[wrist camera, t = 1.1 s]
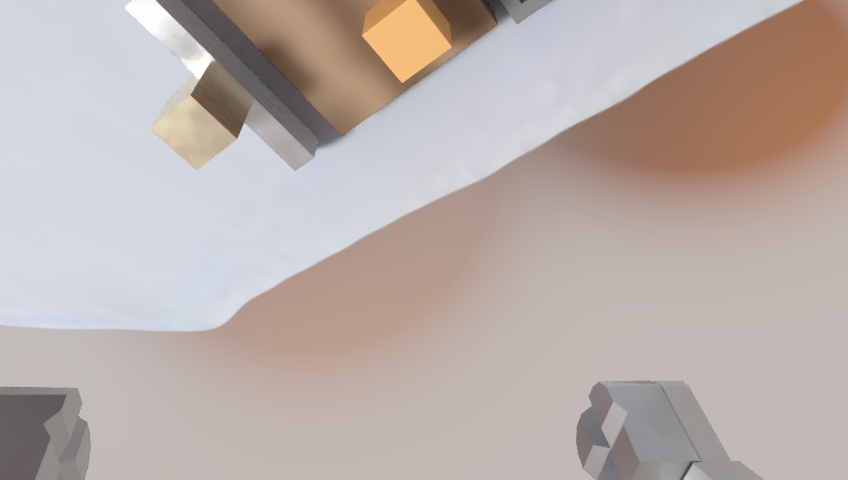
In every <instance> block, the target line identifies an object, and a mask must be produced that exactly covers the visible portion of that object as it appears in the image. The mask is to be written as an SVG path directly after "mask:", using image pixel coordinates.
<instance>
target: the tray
mask: <svg viewBox="0 0 848 480" xmlns="http://www.w3.org/2000/svg"><path fill="white" fill-rule="evenodd" d="M500 1H501V2H502V4H503V5H504V7H505V8H506V9H507V11H508V12H509V14H510V15H511V17H512V18H513V19H514V21H515V22H516V24H519V23H520V22H522V21H523V20H524V19H526V18H527V17H529V16H530V15H531V14H533V13H534V12H536V11H537V10H538V9H540V8H541V7H543V6H544V5H545V4H547V3H548V2H550V1H551V0H500Z"/></svg>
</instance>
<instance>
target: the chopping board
mask: <svg viewBox="0 0 848 480" xmlns="http://www.w3.org/2000/svg"><path fill="white" fill-rule="evenodd" d="M212 1H213V2H214V3H215V4H216V5H217V6H218V7H219V8H220V9H221V10H222V11H223V12H224V13H225V14H226V16H227V17H228V18H229V19H230V20H231V21H232V22H233V23H234V24H235V25H236V26H237V27H238V28H239V29H240V30H241V31H242V32H243V33H244V34H245V35H246V36H247V38H248V39H249V40H250V41H251V42H252V43H253V44H254V45H255V46H256V47H257V48H258V49H259V50H260V51H261V52H262V53H263V54H264V55H265V56H266V57H267V58H268V60H269V61H270V62H271V63H272V64H273V65H274V66H275V67H276V68H277V69H278V70H279V71H280V72H281V73H282V74H283V75H284V76H285V77H286V78H287V79H288V80H289V82H290V83H291V84H292V85H293V86H294V87H295V88H296V89H297V90H298V91H299V92H300V93H301V94H302V95H303V96H304V97H305V98H306V99H307V100H308V101H309V102H310V103H311V105H312V106H313V107H314V108H315V109H316V110H317V111H318V112H319V113H320V114H321V115H322V116H323V117H324V118H325V119H326V120H327V121H328V122H329V123H330V124H331V125H332V127H333V128H334V129H335V130H336V131H337V132H338V133H339V134H340V135H341V136H343V135H344V134H346V133H347V132H349V131H350V130H351V129H353V128H354V127H356V126H357V125H358V124H360V123H361V122H363V121H364V120H365V119H367V118H368V117H370V116H371V115H372V114H374V113H375V112H376V111H378V110H379V109H381V108H382V107H383V106H385V105H386V104H388V103H389V102H390V101H392V100H393V99H395V98H396V97H397V96H399V95H400V94H402V93H403V92H404V91H406V90H407V89H408V88H410V87H411V86H413V85H414V84H415V83H417V82H418V81H420V80H421V79H422V78H424V77H425V76H427V75H428V74H429V73H431V72H432V71H434V70H435V69H436V68H438V67H439V66H441V65H442V64H443V63H445V62H446V61H447V60H449V59H450V58H452V57H453V56H454V55H456V54H457V53H459V52H460V51H461V50H463V49H464V48H466V47H467V46H468V45H470V44H471V43H473V42H474V41H475V40H477V39H478V38H479V37H481V36H482V35H484V34H485V33H486V32H488V31H489V30H491V29H492V28H493V27H495V26H496V25H497V21H496V17H495V13H494V11H493V9H492V8H491V6H490V5H489V4H488V2H487V1H486V0H432V1H433V2H434V3H435V5H436V6H437V7H438V9H439V10H440V11H441V13H442V14H443V15H444V17H445V18H446V19H447V21H448V22H449V23H450V31H451V42H452V47H451V48H450V49H449V50H447V51H446V52H444V53H443V54H442V55H440V56H439V57H438V58H436V59H435V60H433V61H432V62H431V63H429V64H428V65H426V66H425V67H424V68H422V69H421V70H420V71H418V72H417V73H415V74H414V75H413V76H411V77H410V78H409V79H407V80H406V81H404V82H403V83H402V82H401V81H400V80H399V79H398V78H397V77H396V75H395V74H394V73H393V72H392V71H391V69H390V68H389V67H388V66H387V65H386V64H385V62H384V61H383V60H382V59H381V58H380V56H379V55H378V54H377V53H376V52H375V51H374V49H373V48H372V47H371V46H370V45H369V43H368V42H367V41H366V40H365V39H364V38H363V36H362V32H363V26H364V21H365V16H366V12H368V11H369V10H370V9H372V8H373V7H374V6H375V5H377V4H378V3H379V2H380V1H382V0H212Z"/></svg>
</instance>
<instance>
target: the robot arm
mask: <svg viewBox="0 0 848 480" xmlns="http://www.w3.org/2000/svg"><path fill="white" fill-rule="evenodd" d="M589 398H590V401H591V403H592V406H591V407H590V408H589V409H587V410H586V411H584V412H583V413H582V414H581V417H580V419H579V422H578V425H577V436H576V444H577V450H578V455H579V458H580V461H581V464H582V467H583V469H584V470H585V471H586V472H588V473H589V474H590V475H591V476H592V477H593V478H594V479H595V480H763V479H762V478H761V477H760V476H758V475H757V474H755V473H754V472H753V471H752V470H750V469H749V468H748V467H746V466H745V465H744V464H742V463H741V462H740V461H731V460H730V458H729V456H728V454H727V453H726V451H725V449H724V448H723V446H722V444H721V442H720V440H719V439H718V437H717V435H716V433H715V432H714V430H713V428H712V426H711V425H710V423H709V421H708V419H707V417H706V416H705V414H704V412H703V410H702V409H701V407H700V405H699V403H698V402H697V400H696V398H695V396H694V395H693V393H692V391H691V389H690V388H689V386H688V385H687V384H686V383H684V382H683V381H653V382H652V381H612V382H598V383H597V384H595V385H594V386H593V388H592V390H591V393H590V395H589ZM81 405H82V401H81V398H80V395H79V391H78V389H77V388H48V387H46V388H45V387H0V480H84V479H85V476H86V472H87V469H88V462H89V455H90V448H91V447H90V432H89V428H88V424H87V422H86V421H84V420H83V419H81V418H80V417H79V416H78V415H79V412H80V409H81Z"/></svg>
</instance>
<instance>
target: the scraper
mask: <svg viewBox="0 0 848 480" xmlns="http://www.w3.org/2000/svg"><path fill="white" fill-rule="evenodd" d="M125 9H126V10H128V11H129V12H130V13H131V14H132V15H133V16H134V17H135V18H136V19H137V20H138V21H139V22H140V23H141V24H142V25H143V26H144V27H145V28H146V29H147V30H148V31H149V32H150V33H152V34H153V35H154V36H155V37H156V38H157V39H158V40H159V41H160V42H161V43H162V44H163V45H164V46H165V47H166V48H167V49H168V50H169V51H170V52H171V53H172V54H173V55H174V56H176V57H177V58H178V59H179V60H180V61H181V62H182V63H183V64H184V65H185V66H186V67H187V68H188V69H189V70H190V71H191V72H192V73H193V74H194V75H195V76H194V77H193V78H191V79H190V80H189V81H188V82H187V83H186V84H184V85H183V86H182V87H181V88H180V89H179V90H177V91H176V92H175V93H174V94H173V95H172V96H171V97H170V99H169V100H168V102H167V104H166V105H165V107H164V108H163V110H162V111H161V113H160V114H159V116H158V117H157V119H156V121H155V122H154V124H153V125H152V127H151V128H150V130H151V131H152V132H153V133H155V134H156V135H157V136H158V137H159V138H160V139H162V140H163V141H164V142H165V143H166V144H167V145H168V146H170V147H171V148H172V149H173V150H174V151H175V152H176V153H178V154H179V155H180V156H181V157H182V158H183V159H184V160H186V161H187V162H188V163H189V164H190V165H191V166H193V167H194V168H195V169H196V170H198V169H199V168H200V167H202V166H203V165H204V164H206V163H207V162H208V161H209V160H211V159H212V158H213V157H215V156H216V155H217V154H218V153H220V152H221V151H222V150H224V149H225V148H226V147H227V146H229V145H230V144H231V143H233V142H234V141H235V140H236V139H237V138H238V136H239V133H240V131H241V129H242V126H243V124H244V123H245V124H247V125H248V126H249V127H250V128H251V129H252V130H253V131H254V132H255V133H256V134H257V135H258V136H259V137H260V138H261V139H262V140H263V141H264V142H265V143H266V144H267V145H268V146H269V147H271V148H272V149H273V150H274V151H275V152H276V153H277V154H278V155H279V156H280V157H281V158H282V159H283V160H284V161H285V162H286V163H287V164H288V165H289V166H290V167H291V168H292V169H293V170H295V171H296V170H297V169H299V168H300V167H302V166H303V165H304V164H306V163H307V162H309V161H310V160H311V159H313V158H314V156H315V152H316V148H317V143H318V138H317V137H316V136H315V135H314V134H313V133H312V132H311V131H310V130H309V129H308V128H307V127H306V126H305V125H304V124H303V123H302V122H301V121H300V120H299V119H298V118H297V117H296V116H295V115H294V114H293V113H292V112H291V111H290V110H289V109H288V108H287V107H286V106H285V105H284V104H283V103H282V102H281V101H280V100H279V99H278V98H277V97H276V96H275V95H274V94H273V93H272V92H271V90H270V89H269V88H268V87H267V86H266V85H265V84H264V83H263V82H262V81H261V80H260V79H259V78H258V77H257V76H256V75H255V74H254V73H253V72H252V71H251V70H250V69H249V68H248V67H247V66H246V65H245V64H244V63H243V62H242V61H241V60H240V59H239V58H238V57H237V56H236V55H235V54H234V53H233V52H232V51H231V50H230V49H229V48H228V47H227V46H226V45H225V44H224V43H223V42H222V41H221V40H220V39H219V38H218V37H217V36H216V35H215V34H214V33H213V32H212V31H211V30H210V29H209V28H208V27H207V25H206V24H205V23H204V22H203V21H202V20H201V19H200V18H199V17H198V16H197V15H196V14H195V13H194V12H193V11H192V10H191V9H190V8H189V7H188V6H187V5H186V4H185V3H184V2H183V1H182V0H132V1H131V2H130V3H129V4H128V5H127V6H126V7H125Z"/></svg>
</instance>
